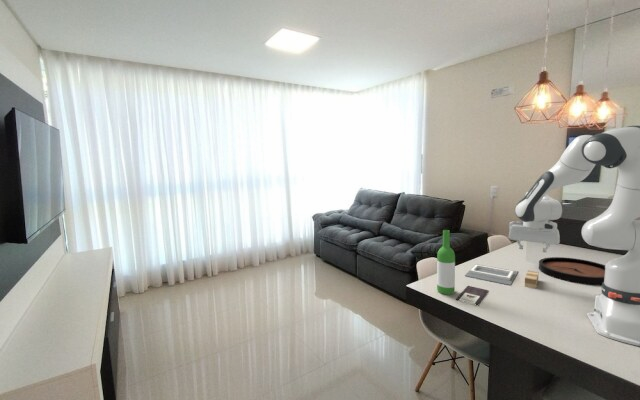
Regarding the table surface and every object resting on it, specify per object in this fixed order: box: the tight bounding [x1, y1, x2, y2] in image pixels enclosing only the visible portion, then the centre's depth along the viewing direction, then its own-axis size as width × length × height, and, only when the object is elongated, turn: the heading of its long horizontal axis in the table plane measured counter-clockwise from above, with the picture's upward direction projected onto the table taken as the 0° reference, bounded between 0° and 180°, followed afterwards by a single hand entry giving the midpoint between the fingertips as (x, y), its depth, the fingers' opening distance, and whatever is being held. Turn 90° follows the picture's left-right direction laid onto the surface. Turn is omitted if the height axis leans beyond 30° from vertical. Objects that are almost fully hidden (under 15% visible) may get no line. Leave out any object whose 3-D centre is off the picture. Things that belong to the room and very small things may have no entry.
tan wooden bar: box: [524, 270, 539, 289], centre depth 147 cm, size 12×4×4 cm, turn 140°
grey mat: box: [464, 263, 519, 286], centre depth 161 cm, size 22×21×2 cm
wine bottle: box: [436, 229, 456, 295], centre depth 140 cm, size 8×8×30 cm
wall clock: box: [538, 256, 606, 286], centre depth 157 cm, size 31×4×31 cm
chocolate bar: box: [455, 285, 489, 306], centre depth 137 cm, size 9×1×18 cm
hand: (532, 250), depth 146 cm, fingers open, 8 cm apart
